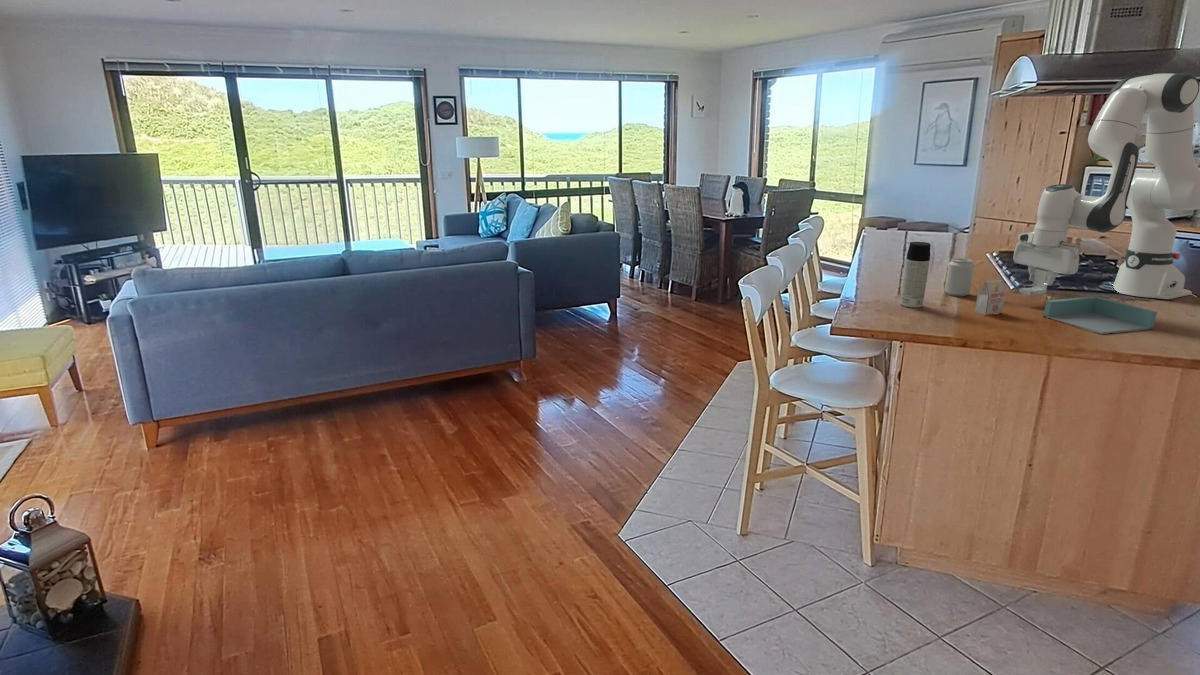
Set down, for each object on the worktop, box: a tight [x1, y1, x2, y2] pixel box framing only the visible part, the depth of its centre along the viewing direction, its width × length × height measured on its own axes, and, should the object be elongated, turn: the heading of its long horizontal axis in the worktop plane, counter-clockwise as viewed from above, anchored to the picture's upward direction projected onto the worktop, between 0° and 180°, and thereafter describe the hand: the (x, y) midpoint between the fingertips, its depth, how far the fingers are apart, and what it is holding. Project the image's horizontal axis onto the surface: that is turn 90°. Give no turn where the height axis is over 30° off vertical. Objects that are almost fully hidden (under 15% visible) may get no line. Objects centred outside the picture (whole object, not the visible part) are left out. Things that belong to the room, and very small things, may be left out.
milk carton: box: [974, 279, 1006, 315], centre depth 196 cm, size 4×7×10 cm, turn 109°
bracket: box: [1019, 268, 1051, 296], centre depth 203 cm, size 6×4×7 cm, turn 104°
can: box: [944, 257, 975, 297], centre depth 218 cm, size 8×8×12 cm
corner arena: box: [1043, 295, 1158, 335], centre depth 186 cm, size 18×18×5 cm
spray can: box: [899, 241, 932, 309], centre depth 204 cm, size 7×7×20 cm
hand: (1040, 282), depth 204 cm, fingers closed on bracket, 4 cm apart
